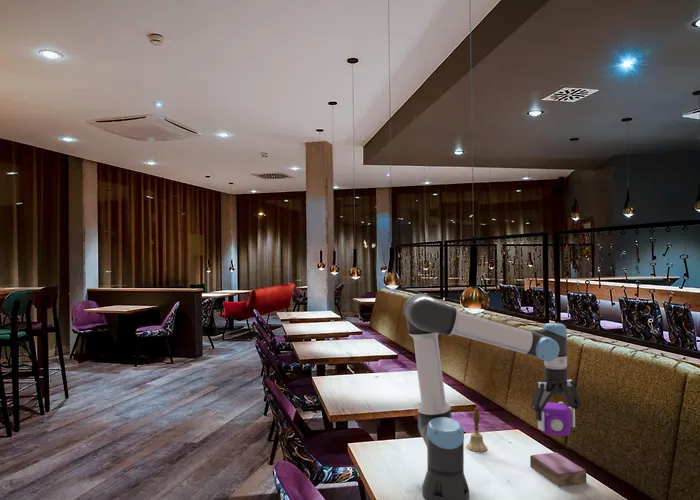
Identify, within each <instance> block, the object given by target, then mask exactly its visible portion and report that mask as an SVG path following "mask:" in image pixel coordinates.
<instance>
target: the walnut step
mask: <svg viewBox="0 0 700 500" xmlns="http://www.w3.org/2000/svg"><path fill="white" fill-rule="evenodd" d="M529 457H530V460H529V461H530V464H529V465H530V468H531V469H532V470H534V471H536V472H537V473H539V474H540V475H541V476H542V477H544V478H545V479H546V480H548V481H549V482H551V483H552V484H554V485H555V486H557V487H558V488H560V487H567V486H568V487H569V486H576V485H582V484H587V471H586V469H585V468H583V467H581V466H579V465H577V464H576V463H574V462H573V461H571V460H570V459H568V458H566V457H564V456H563V455H562V454H560V453H558V452H557V451H556V452H546V453H541V454H540V453H538V454H531V455H530V456H529Z"/></svg>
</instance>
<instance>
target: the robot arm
mask: <svg viewBox="0 0 700 500" xmlns="http://www.w3.org/2000/svg"><path fill="white" fill-rule="evenodd" d="M403 314H404V317H405V318H406V325H407V333H408V335H409V336H410V337H412V339H413V346H414V354H415V363H416V370H417V371H416V372H417V378H418V387H419V394H420V395H419V396H420V405H419V407H417V412H418V413H417V414H418V420H417V428H418V432H419V434H420V437H421V438H422V439H423V442H424V443H425V446H426V449H427V454H426V455H427V458H426V459H427V470H426V473H425V476H424V479H423V482H422V486H421V494H422V497H423V498H424V499H425V500H470V488H469V485H468V482H467V479H466V476H465V473H464V470H465V469H464V468H465V467H464V463H465V462H464V459H465V457H464V454H465V453H464V447H465V446H464V441H465V433H464V428H463V426H462V425H463V424H461V423H460V421H457V420H455V419H453V415H452V408H451V405H450V404H448V403H447V402H446V394H445V387H444V379H443V378H444V377H443V369H442V362H441V355H440V354H441V352H440V347H439V345H440V344H439V337H438V335H440V334H441V335H443V336H448V337H449V336H451V335H456V336H459V337H463V338H466V339H470V340H474V341H477V342H480V343H481V342H482V343H485V344H488V345H492V346H496V347H500V348H502V349H506V350H509V351H510V350H511V351H513V352H517V353H520V354H524V355H528V356H531V357H533V358H539V360H542V361H543V362H544V368H543V369H544V378H545V380H544V382H543V381H542V382H541V381H537V383H536V390H535V393H534V396H533V398H532V402H531V405H530V409H531V410H534V411H535V419H536V421H537V429H539V430H540V431H541V432H542V431H545V427H544V412H543V411H542V410H543V409H544V407H545V405H546V404H547V402H549V400H550V398H551V397H553V395H557V394H560V395H561V394H562V397H563V398H564V399H565V400H566V402H567V404H568V405H569V406H567V407H568V409H569V412H570V428H576V418H577V415H578V414H577V410H579V408H580V407H581V406H582V405H583V404H582V402H581V399H580V397H579V394H578V391H577V388H576V382H575V381H574V380H572V379H571V378H568V369H567V367H568V353H567V352H568V349H567V348H568V347H567V346H568V345H567V342H568V339H567V338H568V335H567V334H568V333H567V326H566V325H565V324H564V323H559V322H548V323H545V324H543V328H541V329H521V328H518V327H514V326H511V325H508V324H504V323H500V322H497V321H493V320H490V319H486V318H482V317H479V316H476V315H472V314H467V313H464V312H461V311H459V310H458V308H457V307H454V306H452V305H451V306H450V305H449V304H446V303H444V302H441V301H440V300H438V299H437V298H435V297H432V296H431V295H429V294H425V293H417V294H413V295H411V296H410V297H409V298H407V300H406V302H405V303H404V307H403ZM566 387H567V388H568V390H567V388H566Z"/></svg>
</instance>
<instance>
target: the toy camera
mask: <svg viewBox="0 0 700 500" xmlns="http://www.w3.org/2000/svg"><path fill="white" fill-rule="evenodd" d="M568 407H569V406H568V405H567V404H566V403H564V402H563V401H558V402H551V401H550V402H549V401H548V402H547V404H546V405H545V407H544V409H543V410H542V411H543V412H544V427H545V431H542V430H541V432H542V433H543V434H545V435H553V436H562V437H563V436H564V437H566V436H568V437H569V435H570V434H571V426H570V412H569V409H568Z"/></svg>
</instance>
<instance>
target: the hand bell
mask: <svg viewBox="0 0 700 500" xmlns="http://www.w3.org/2000/svg"><path fill="white" fill-rule="evenodd" d="M472 417H473V422H474V423H473V424H474V430H473V431H474V432H472V433H470V438H469V442H468V443H467V444H466V446H465V447H466V449H467V450H468V451H472V452H476V453H479V452H482V453H483V452H486V451H487V450H488V447H487V445H486V444H485V442H484V438H483V434H481V433H480V431H479V430H480V429H479V423H480V418H481V416H480V410H479V408H478V407H475V408H474V410H473V415H472Z"/></svg>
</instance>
